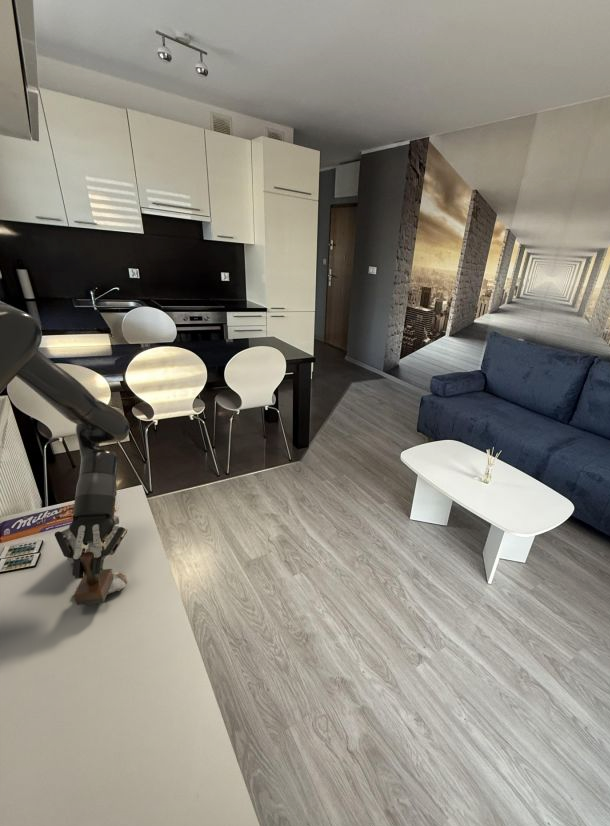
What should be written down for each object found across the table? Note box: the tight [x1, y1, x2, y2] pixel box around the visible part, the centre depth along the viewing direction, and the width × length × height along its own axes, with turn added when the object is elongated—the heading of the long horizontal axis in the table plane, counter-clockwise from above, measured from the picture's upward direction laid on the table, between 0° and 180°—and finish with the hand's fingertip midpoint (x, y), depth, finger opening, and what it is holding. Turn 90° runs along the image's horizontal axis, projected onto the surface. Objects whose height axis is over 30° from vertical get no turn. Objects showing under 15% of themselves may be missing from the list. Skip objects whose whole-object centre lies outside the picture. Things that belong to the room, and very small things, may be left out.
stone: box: [75, 571, 128, 595], centre depth 90 cm, size 10×7×3 cm
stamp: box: [73, 552, 114, 606], centre depth 84 cm, size 5×7×10 cm
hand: (87, 577), depth 82 cm, fingers closed on stamp, 2 cm apart
